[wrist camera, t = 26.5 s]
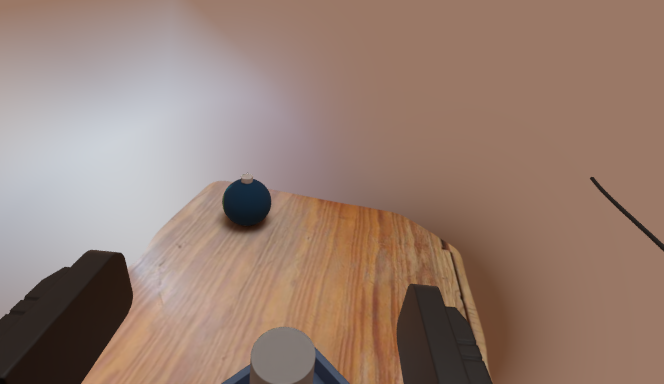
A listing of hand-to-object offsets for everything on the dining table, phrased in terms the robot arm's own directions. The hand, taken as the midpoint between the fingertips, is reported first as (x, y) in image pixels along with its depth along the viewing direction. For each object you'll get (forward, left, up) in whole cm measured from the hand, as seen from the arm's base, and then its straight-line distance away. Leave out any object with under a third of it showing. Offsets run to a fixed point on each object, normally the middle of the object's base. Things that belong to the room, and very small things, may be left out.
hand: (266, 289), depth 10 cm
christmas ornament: (-24, -40, -30) cm, 55 cm away
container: (-6, -6, -29) cm, 30 cm away
